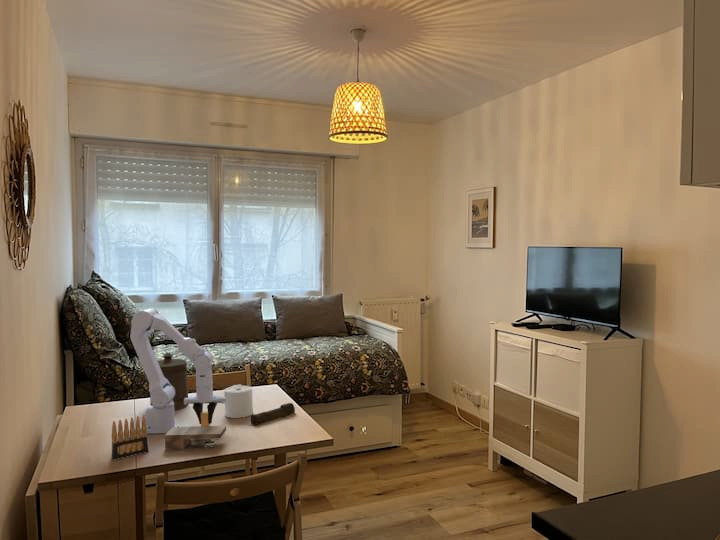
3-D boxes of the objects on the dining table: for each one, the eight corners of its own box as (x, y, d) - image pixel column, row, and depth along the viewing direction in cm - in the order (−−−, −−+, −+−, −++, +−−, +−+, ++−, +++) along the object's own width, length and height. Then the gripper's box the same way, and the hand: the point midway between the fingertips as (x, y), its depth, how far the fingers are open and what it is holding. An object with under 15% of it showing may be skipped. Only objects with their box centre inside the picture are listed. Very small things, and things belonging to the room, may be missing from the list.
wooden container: (180, 398, 239) (178, 348, 238) (194, 406, 227) (192, 353, 226) (145, 405, 229) (143, 353, 228) (158, 413, 218) (155, 358, 217)
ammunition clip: (147, 450, 179) (145, 413, 179) (148, 452, 178) (147, 415, 177) (111, 458, 173) (110, 420, 173) (112, 459, 172) (111, 422, 171)
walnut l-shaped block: (165, 450, 179) (164, 435, 178) (173, 441, 187) (172, 427, 186) (220, 449, 179) (220, 433, 179) (226, 440, 187) (226, 425, 187)
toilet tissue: (232, 420, 208) (231, 394, 207) (218, 413, 217) (217, 388, 217) (257, 414, 215) (257, 389, 214) (243, 407, 224) (242, 383, 223)
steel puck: (202, 448, 181) (202, 443, 181) (205, 443, 185) (205, 438, 185) (214, 447, 181) (214, 442, 181) (217, 443, 185) (217, 438, 185)
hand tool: (255, 426, 201) (255, 414, 201) (250, 424, 204) (249, 411, 204) (298, 415, 213) (298, 403, 213) (292, 413, 216) (292, 401, 216)
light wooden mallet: (192, 440, 187) (192, 423, 187) (203, 427, 201) (202, 411, 200) (200, 440, 187) (199, 422, 187) (210, 427, 201) (209, 410, 200)
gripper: (227, 382, 203) (228, 419, 203) (187, 383, 202) (188, 420, 203) (222, 387, 196) (223, 425, 196) (181, 388, 195) (182, 426, 196)
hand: (205, 423), depth 199 cm, fingers closed on light wooden mallet, 3 cm apart
